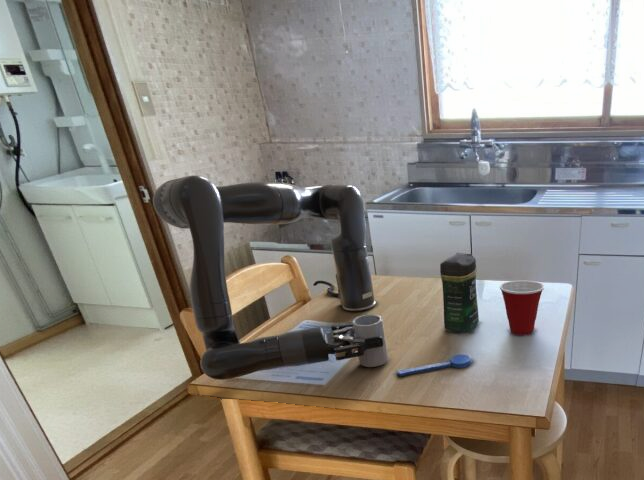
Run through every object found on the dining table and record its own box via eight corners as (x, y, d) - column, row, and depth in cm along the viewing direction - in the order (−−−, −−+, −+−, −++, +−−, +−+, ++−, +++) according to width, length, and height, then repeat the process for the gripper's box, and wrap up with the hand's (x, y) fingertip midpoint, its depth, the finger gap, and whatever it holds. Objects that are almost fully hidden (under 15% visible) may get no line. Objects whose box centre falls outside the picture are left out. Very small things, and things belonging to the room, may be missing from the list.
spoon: (399, 379, 111) (398, 375, 110) (396, 370, 115) (395, 366, 114) (473, 365, 115) (473, 361, 114) (467, 357, 119) (467, 352, 118)
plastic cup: (548, 323, 133) (549, 278, 127) (538, 341, 124) (538, 293, 118) (507, 320, 136) (506, 275, 130) (495, 337, 127) (493, 290, 121)
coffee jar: (469, 336, 128) (464, 263, 119) (440, 332, 131) (433, 260, 122) (483, 321, 136) (480, 251, 127) (456, 318, 139) (450, 249, 129)
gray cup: (354, 361, 118) (346, 321, 113) (375, 351, 122) (369, 312, 117) (371, 369, 114) (364, 328, 109) (393, 358, 118) (387, 318, 113)
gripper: (300, 345, 104) (382, 331, 108) (299, 319, 116) (373, 307, 120) (308, 377, 108) (387, 363, 112) (306, 349, 120) (378, 337, 124)
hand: (380, 334), depth 116 cm, fingers closed on gray cup, 6 cm apart
